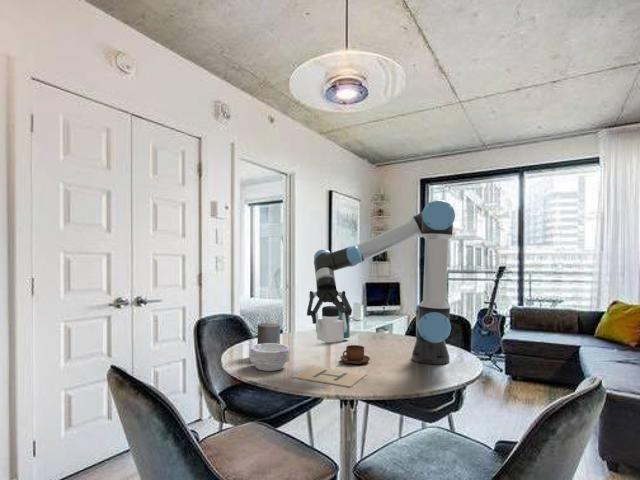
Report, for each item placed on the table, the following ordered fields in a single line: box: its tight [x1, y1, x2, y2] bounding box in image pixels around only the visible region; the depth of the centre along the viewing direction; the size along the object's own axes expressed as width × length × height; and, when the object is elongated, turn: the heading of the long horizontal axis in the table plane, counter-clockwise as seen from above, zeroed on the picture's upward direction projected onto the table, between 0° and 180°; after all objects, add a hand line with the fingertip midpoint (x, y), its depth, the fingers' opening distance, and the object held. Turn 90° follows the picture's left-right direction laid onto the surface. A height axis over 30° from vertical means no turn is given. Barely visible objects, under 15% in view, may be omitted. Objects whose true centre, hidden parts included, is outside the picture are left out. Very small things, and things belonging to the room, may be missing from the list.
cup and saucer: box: [340, 344, 371, 365], centre depth 161 cm, size 12×12×6 cm
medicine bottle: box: [316, 305, 345, 343], centre depth 141 cm, size 7×7×12 cm
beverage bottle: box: [338, 300, 351, 339], centre depth 205 cm, size 6×7×20 cm
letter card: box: [291, 365, 368, 388], centre depth 140 cm, size 22×16×1 cm
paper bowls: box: [249, 343, 291, 372], centre depth 151 cm, size 15×15×8 cm
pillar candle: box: [256, 322, 281, 345], centre depth 168 cm, size 10×10×15 cm
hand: (331, 330), depth 138 cm, fingers closed on medicine bottle, 9 cm apart
